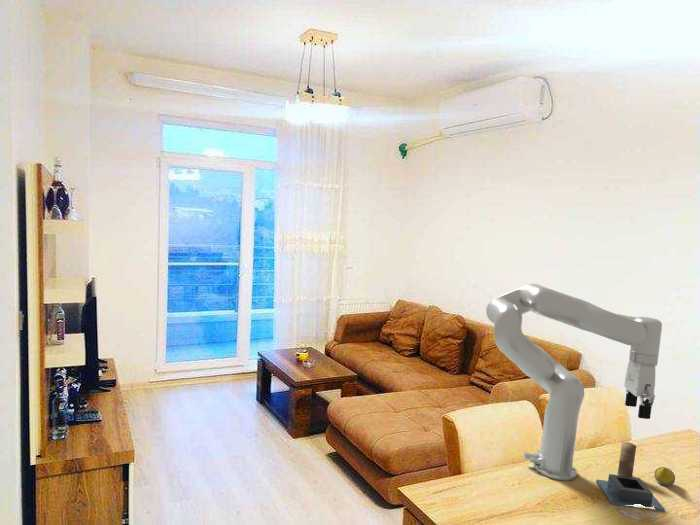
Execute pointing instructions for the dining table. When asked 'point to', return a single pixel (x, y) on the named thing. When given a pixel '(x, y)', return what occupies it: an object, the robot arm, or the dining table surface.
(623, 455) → the walnut rod
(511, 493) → the dining table surface
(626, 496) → the grey square peg hole
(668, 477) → the yellow grooved cone part
